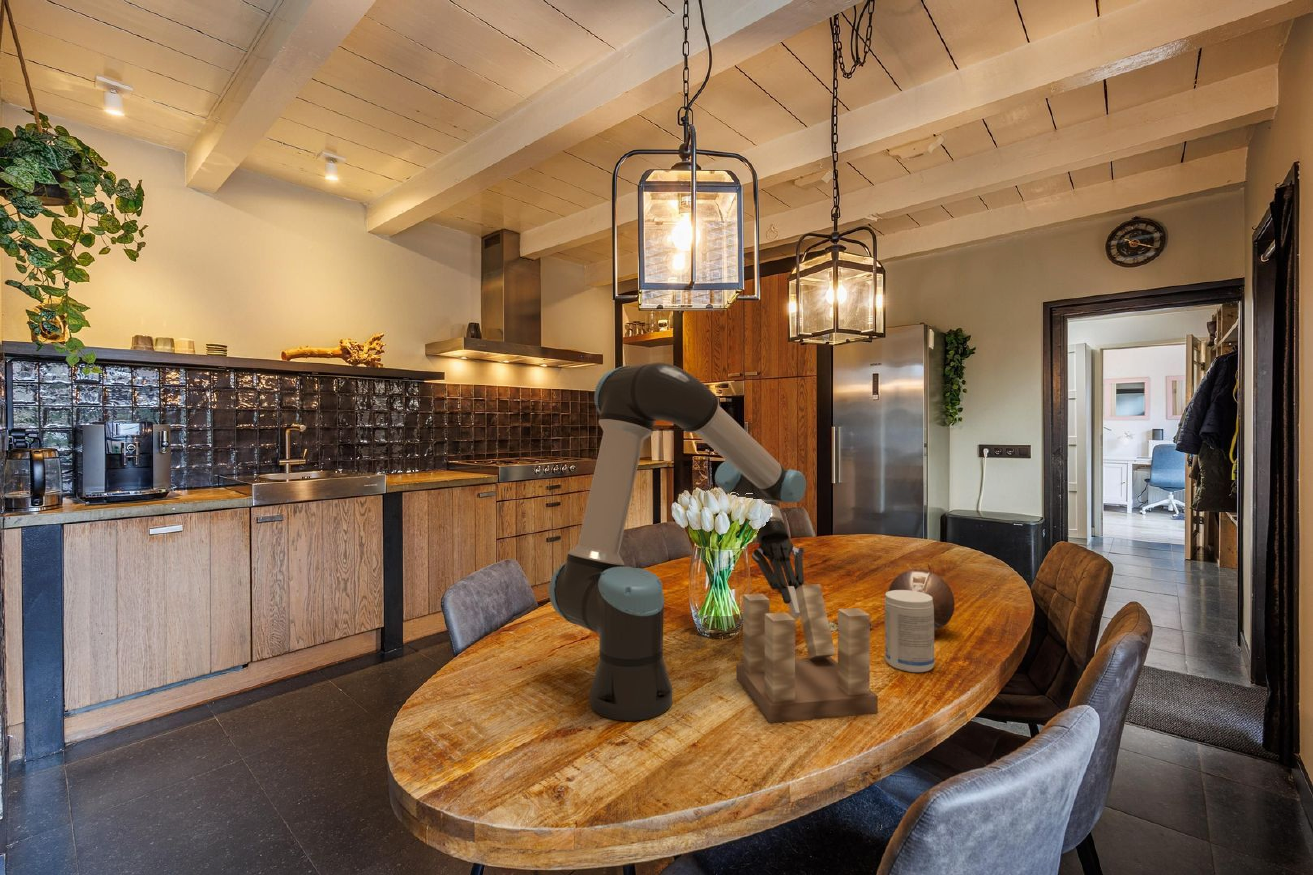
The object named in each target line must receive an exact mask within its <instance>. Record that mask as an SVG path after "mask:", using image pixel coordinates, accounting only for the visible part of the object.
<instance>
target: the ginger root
mask: <svg viewBox="0 0 1313 875" xmlns="http://www.w3.org/2000/svg"><path fill="white" fill-rule="evenodd" d="M828 622H829V627H830V631H831V632H836V631H838V618H836V619H834V620H833V621H828ZM872 626H873V625H872V623H871V622H870V630H871V629H872Z"/></svg>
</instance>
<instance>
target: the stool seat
mask: <svg viewBox="0 0 1313 875" xmlns="http://www.w3.org/2000/svg"><path fill="white" fill-rule="evenodd" d="M770 605H771V604H770V599H769V598H768V596H766V595H765V594H763V593H751V594H747V593H746V594H743V595H742V662H736V664H735V665H736V669H735V670H736V677H735V678H736V680H737V681H738V682H739V684H740V685H741V687H742V689H744V690H745V692H746V693H747V695H748V694H749V695H748V696H749V697H750V699H751V698H752V699H751V700H752V702H755V703H754V705H755V706H756V707H757V706H758V707H757V708H758V710H759V711H760V713H761V714H762V715H763V716H764V718H765V719H766V721H767V722H768V723H769V724H773V723H783V722H794V721H803V720H804V721H805V720H813V719H814V720H815V719H816V720H818V719H825V718H827V719H828V718H836V717H837V718H838V717H847V716H848V717H849V716H857V715H859V716H861V715H868V714H878V713H879V710H878V709H879V708H878V706H879V705H878V704H879V702H878V701H879V698H878V697H879V695H877V694H876V693H875V692H874V691H872V690H871V689H870V683H871V682H870V674H871V672H870V670H871V668H870V667H871V666H870V663H871V661H870V659H871V658H870V657H871V653H870V652H871V643H870V642H871V629H870V623H871V614H869V613H867V612H865V611H864V610H862V609H861V608H859V607H856V608H839V609H838V608H837V619H838V629H837V660H835V659H834V658H832V656H830V657H827V658H814V659H809V657H803V658H801V657H800V658H796V619H794V618H792V616H791V614H789V613H787V612H785V611H784V612H771V611H770V608H771V606H770Z"/></svg>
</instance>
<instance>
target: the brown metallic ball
mask: <svg viewBox="0 0 1313 875" xmlns="http://www.w3.org/2000/svg"><path fill="white" fill-rule="evenodd" d="M893 590H910V591H917V592H922V593H925V594H928V595H930V596H931V597H932V598H933V606H934V632H937V631H939V630H941V629H943V628H944V627H946V626H947V624H948V623H949V622H950V621H951V619H952V617H953V615H954V611H955V605H956V604H955V598H954V594H953V592H952V590H951V587H950V586H949V585H948V583H947V582H946V581H945V580H944V579H943V578H942V577H940V576H939V575H938V574H936V573H934V572H931V571H928V570H925V569H920V568H919V569H910V570H905V571H904V572H902V573H900V574H899V575H897V576H896V577H895V578H894V579H893V580H892V582H891V583H890V585H889V588H888V591H887V592H889V591H893Z"/></svg>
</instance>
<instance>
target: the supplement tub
mask: <svg viewBox="0 0 1313 875" xmlns="http://www.w3.org/2000/svg"><path fill="white" fill-rule="evenodd" d="M884 597H885V598H884V644H885V646H884V648H885V651H884V652H885V654H884V655H885V656H884V657H885V662H887V664H888V665H890V666H891V667H893V668H895V669H897V670H900V671H906V672H908V673H909V672H910V673H924V672H925V673H926V672H928V671H931V670H933V668H934V667H935V631H934V606H933V598H932V597H931V596H930V595H928V594H925V593H922V592H917V591H910V590H893V591H889V592H888V591H886V593H885V595H884Z"/></svg>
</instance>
